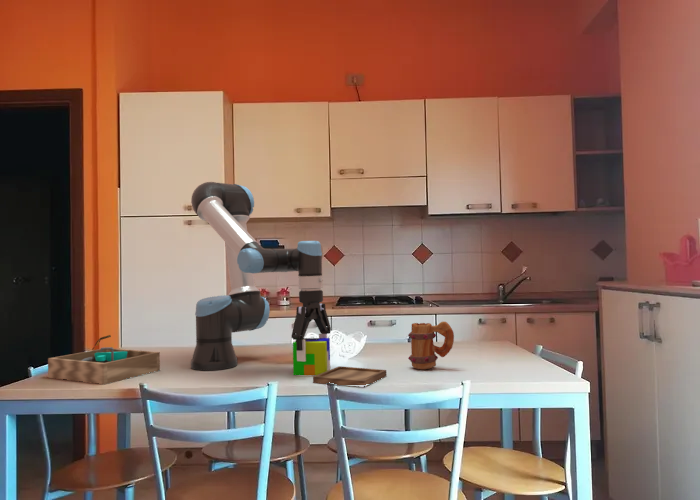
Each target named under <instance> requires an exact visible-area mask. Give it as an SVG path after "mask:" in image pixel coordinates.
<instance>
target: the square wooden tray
mask: <svg viewBox="0 0 700 500" xmlns="http://www.w3.org/2000/svg"><path fill="white" fill-rule="evenodd" d="M386 377H387V370H386V369H380V368H379V369H378V368H365V367H352V366H336V367H334V368H330V370H328V371H326V372H323V373H321V374H318V375H316V376H312V384H322V385H327V384H326V383H329V382H330V383H334V384H337V385H336V386H340V385H366V384H370V383H372V384H373V382H374V383H376V382H377V380H378V381H380V380H382V379H383V378H386ZM381 378H382V379H381ZM379 379H380V380H379ZM375 381H376V382H375ZM370 385H371V384H370Z"/></svg>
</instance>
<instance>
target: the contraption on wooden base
mask: <svg viewBox="0 0 700 500" xmlns="http://www.w3.org/2000/svg"><path fill="white" fill-rule="evenodd" d="M111 337H112V336H111V334H108V335H106V336H101V337H99V338H98V339H97V341H96V342H95V344H94V346H93V348H91V351H92V350H95V347H96V346H98V345H99V344H100V342H101V341H103V340H105V339H108V338H111ZM99 349H100V352H101V353H95V356H93V357H88V358H85V359H83V360H81V361H90V362H91V361H92V362H100V363H106V362H111V361H116V360H121V359H126V358H127V353H128V352H127V351H121V352H114V351H113V349H114V347H112V346H111V347H100V348H99ZM106 349H111V352H103V350H106Z"/></svg>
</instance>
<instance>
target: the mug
mask: <svg viewBox="0 0 700 500" xmlns="http://www.w3.org/2000/svg"><path fill="white" fill-rule="evenodd" d="M436 333H438V334H439V335H441V336H443V338H444V341H443V344H442V345H441V346H437V345H435V344H434V339H435V338H436V337H437V334H436ZM454 333H455V332H454V330H453V328H452V327H451V325H450V324H449V323H448V322H447V321H443V320H442V321H441V322H439V323H438V324H437V325H432V323H430V322H427V323H425V322H420V323H418V322H414V323H411V331H410V332H409V333H408V334H407V336H408V337H409V338H410V339H411V341H410V343H411V350H410V351H411V352H410V353H411V354H410V355H409V357H408V358H407V359H408V360H409V361H410V362H411V366H412V368H414V369H416V370H429V369H432V368H435V366H436V365H437V363H436V362H437V360H438V358H439V357H441V358H445V357H446V356H447V355H448V354H449V353H450V351H451V350H452V349H453V346H454V341H455V334H454ZM436 354H437V355H438V356H439V357H438V356H437V355H436Z"/></svg>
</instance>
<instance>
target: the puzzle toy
mask: <svg viewBox="0 0 700 500" xmlns="http://www.w3.org/2000/svg"><path fill="white" fill-rule="evenodd" d="M304 340H305V346H306V361H305V362H304V361H297V349H296V340H295V341H294V342H292V362H293V363H292V365H293V368H292V370H293V372H292V373H293V374H292V375H318V374H321V373H323V372H326V371H328V370H331V339H330V337H327V338H319V337H316V338H315V337H308V338H307V337H306V338H305V337H304Z"/></svg>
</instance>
